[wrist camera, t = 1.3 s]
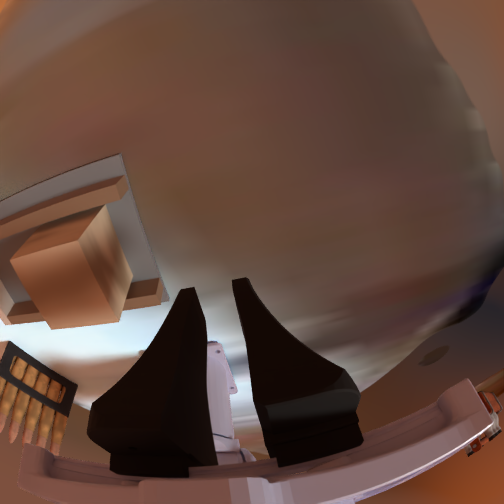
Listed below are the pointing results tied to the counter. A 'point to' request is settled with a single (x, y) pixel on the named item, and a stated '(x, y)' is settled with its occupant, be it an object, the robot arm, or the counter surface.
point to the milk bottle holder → (493, 430)
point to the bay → (66, 203)
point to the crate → (75, 270)
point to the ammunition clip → (34, 398)
